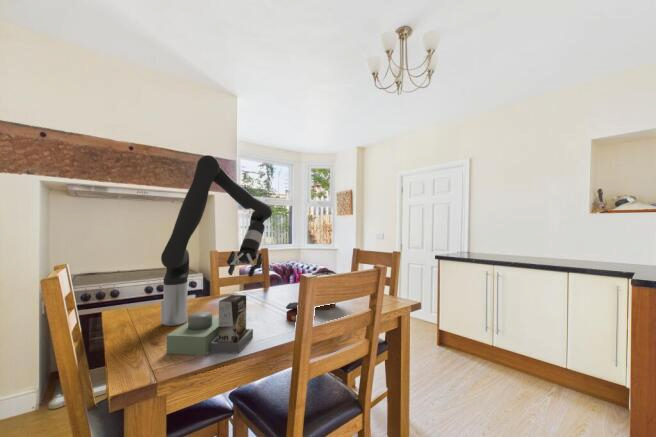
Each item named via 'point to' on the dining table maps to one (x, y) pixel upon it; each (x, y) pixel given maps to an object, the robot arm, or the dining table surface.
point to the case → (325, 272)
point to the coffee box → (232, 318)
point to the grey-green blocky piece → (202, 337)
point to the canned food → (292, 311)
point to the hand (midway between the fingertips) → (239, 275)
